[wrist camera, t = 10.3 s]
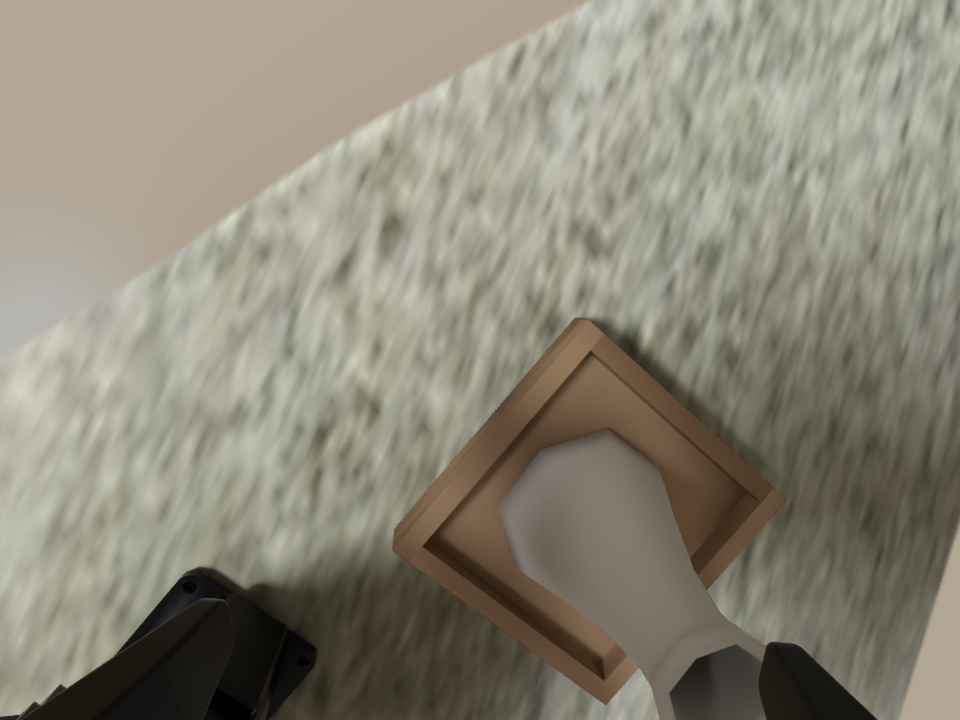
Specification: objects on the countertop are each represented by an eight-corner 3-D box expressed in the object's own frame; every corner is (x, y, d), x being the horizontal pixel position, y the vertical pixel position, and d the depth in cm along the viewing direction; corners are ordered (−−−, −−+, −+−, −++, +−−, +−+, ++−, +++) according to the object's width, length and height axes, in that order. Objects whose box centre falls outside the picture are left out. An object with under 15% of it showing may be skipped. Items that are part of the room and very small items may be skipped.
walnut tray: (591, 674, 24) (605, 705, 22) (394, 528, 22) (392, 550, 20) (758, 483, 23) (786, 499, 22) (575, 317, 21) (589, 320, 20)
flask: (466, 499, 21) (510, 685, 11) (610, 396, 21) (779, 489, 11) (561, 626, 22) (676, 891, 13) (696, 527, 22) (914, 713, 13)
